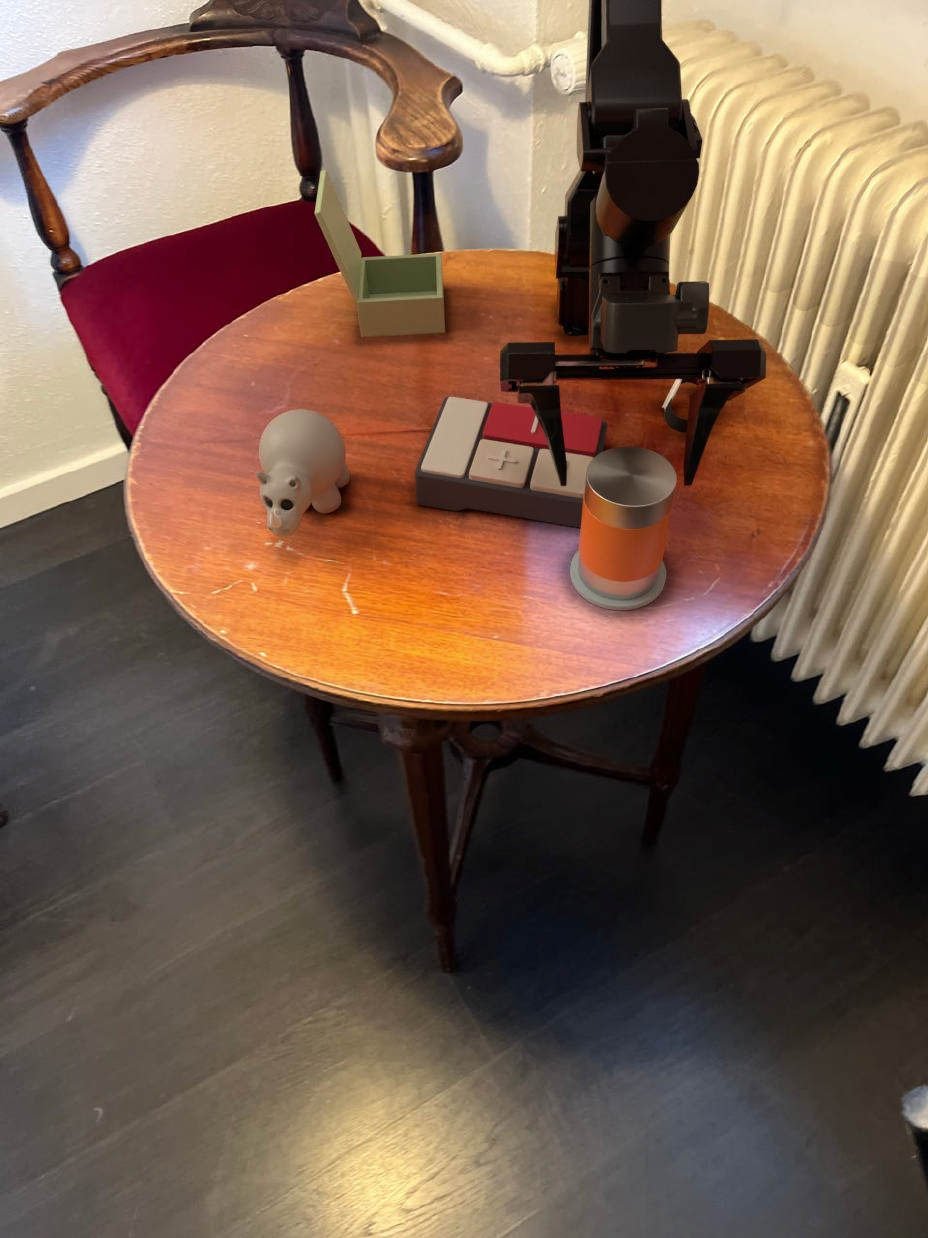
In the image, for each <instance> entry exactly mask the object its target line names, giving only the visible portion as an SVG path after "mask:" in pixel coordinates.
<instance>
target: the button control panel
mask: <svg viewBox="0 0 928 1238" xmlns="http://www.w3.org/2000/svg"><path fill="white" fill-rule="evenodd" d="M561 416H562V425H563V434H564V443H565V452H566V460H567V485H566V486H561V485H560V482H559V479H558V476H557V472H556V469H555V466H554V463H553V460H552V456H551V453H550V450H549V447H548V444H547V440H546V437H545V435H544V432H543V430H542V428H541V426H540V424H539V421H538V419H537V417H536V415H535V413H534V411H533V408H532V406H525V405H519V404H512V403H505V402H499V401H494V402H487V401H483V400H476V399H470V398H463V397H456V396H446V397H444V398H443V401H442V403H441V406H440V408H439V411H438V413H437V416H436V418H435V421H434V423H433V425H432V428H431V429H430V430H431V431H430V433H429V436H428V438H427V441H426V443H425V446H424V448H423V451H422V453H421V455H420V458H419V460H418V463H417V466H416V469H415V471H414V484H415V486H414V487H415V501H416V502H415V503H416V504H417V505H419V506H423V507H430V508H435V509H442V510H448V511H454V512H458V511H462V510H466V509H470V510H476V511H483V512H487V513H493V514H500V515H505V516H510V517H511V516H512V517H516V518H522V519H528V520H534V521H540V522H545V523H551V524H558V525H562V526H567V527H573V528H574V527H575V528H579V529H581V519H582V507H583V496H584V491H585V481H586V471H587V468H588V465H589V464H590V462H591V461H592V460H593V459H594V458H595V457H596V456H597V455H599V454H600V453H602V452H604V448H605V444H606V443H605V442H606V437H607V431H608V422H607V421H605V420H603V419H602V417H601V418H600V417H597V416H596V417H595V416H590V415H583V414H578V413H577V414H576V413H571V412H564V411H561Z"/></svg>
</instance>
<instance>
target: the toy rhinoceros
mask: <svg viewBox="0 0 928 1238" xmlns="http://www.w3.org/2000/svg"><path fill="white" fill-rule="evenodd" d="M346 456H347V454H346V444H345V441H344V438H343V436H342V434H341V431H340V430H339V429H338V427H337V425H335V424H334V422H332V420H330V419H329V418H328V417H327V416H325V415H324V414H322V413H320V412H317V411H314V410H312V409H311V410H310V409H305V408H303V409H302V408H298V409H291V410H287V411H285V412H283V413H280V414H278V415H277V416H276V417H274V418H273V419H272V420H271V421H270V422H269V423H268V424H267V425H266V427H265V428H264V430H263V432H262V434H261V437H260V440H259V443H258V459H259V464H260V466H261V469H262V471H257V472H256V473H255V474H256V478H257V480H258V481H259V483H260V486H259V498H260V502H261V503H262V504H263V506H264V508H265V509H266V525H267V529H268V530H269V531H270V532H271V533H272V534H273V535H275V536H277V537H279V538H288V537H291V536H293V535H295V534H297V532H298V531H299V530H300V528H301V525H302V518H303V515H304V513H305V512H306V511H307V510H308V508H309V507H310V506H311V505H312V507H313V508H314V510H315V511H316V512H318V513H321V514H330V513H332V512H335V511H336V510H337V509H338V508H339V507H340V506H341V505H342V504H341V503H342V496H341V493H340V490H339V489H341V488H343V487H345V486H346V485H347V484H348V483H349V482H350V479H351V471H350V469H349V468H350V467H349V466H348V464H347V463H346V458H347V457H346Z"/></svg>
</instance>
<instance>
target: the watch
mask: <svg viewBox="0 0 928 1238" xmlns="http://www.w3.org/2000/svg"><path fill="white" fill-rule="evenodd" d="M686 383H690V384H693V385H696V386H697V387H698V384H697V383H696V382H695V381H694V379H674V382H673V384H672V386H671V388H670V390H669V392H668V394H667V396H666V398H665V400H664V403H663V404H662V406H661V408H662V409H664V410H663V411H664V413H663V416H664V421H665V423H666V425H667V426H668V427H669V428H670V429H672V430H673V431H676V432H679V433H686V432H687V421H688V419H686V418H682V417H680V416H678V415H677V414H676V413H675V411H673V408H672V401H673V400H674V398H675V396H676V394H677V392H678V390H679V388H680V387H681V385H682V384H686Z"/></svg>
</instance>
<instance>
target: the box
mask: <svg viewBox="0 0 928 1238" xmlns="http://www.w3.org/2000/svg"><path fill="white" fill-rule="evenodd" d="M442 259H443V258H442V253H441V252H440V253H439V252H438V253H437V252H436V253H423V254H421V253H419V254H402V255H400V254H399V255H383V256H382V255H381V256H366V257H361V267H360V281H359V294H358V298H356V299H355V300H356V308H357V309H356V311H357V314H358V315H357V317H358V323H359V324H358V325H359V331H360V336H361V338H373V337H388V336H390V337H391V336H392V337H393V336H409V335H411V336H412V335H427V334H445V333H446V321H445V319H446V318H445V317H446V316H445V296H444V294H445V292H444V276H443V275H444V274H443V260H442Z"/></svg>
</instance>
